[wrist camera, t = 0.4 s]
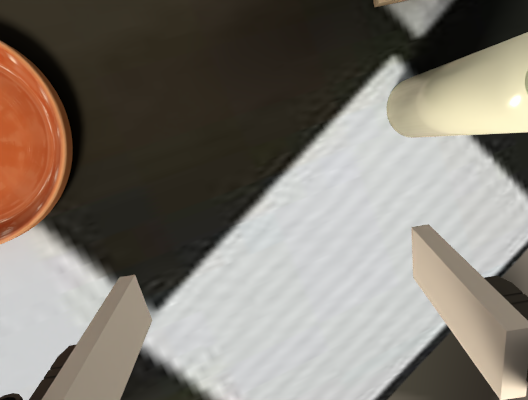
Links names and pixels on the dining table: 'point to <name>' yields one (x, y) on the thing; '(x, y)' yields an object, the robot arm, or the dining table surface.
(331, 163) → the dining table surface
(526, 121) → the bottle
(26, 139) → the saucer
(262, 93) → the dining table surface
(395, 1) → the dock
